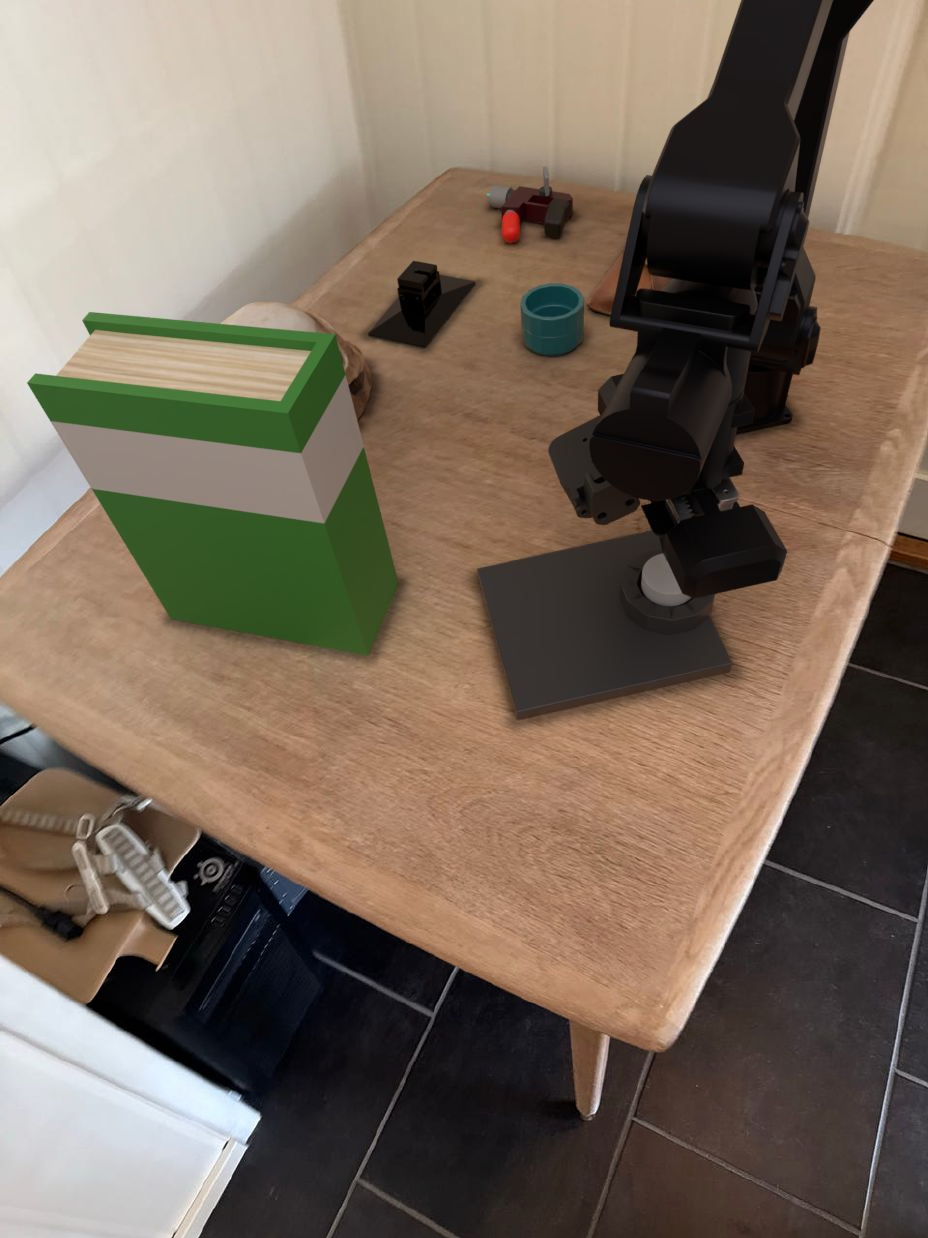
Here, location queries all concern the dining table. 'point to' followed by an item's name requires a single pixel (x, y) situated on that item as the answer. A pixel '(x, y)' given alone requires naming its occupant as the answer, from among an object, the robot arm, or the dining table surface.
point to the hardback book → (230, 473)
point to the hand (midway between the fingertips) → (671, 556)
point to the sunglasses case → (607, 287)
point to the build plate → (421, 305)
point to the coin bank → (300, 320)
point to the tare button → (661, 583)
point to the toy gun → (531, 208)
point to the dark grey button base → (593, 627)
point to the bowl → (552, 319)
